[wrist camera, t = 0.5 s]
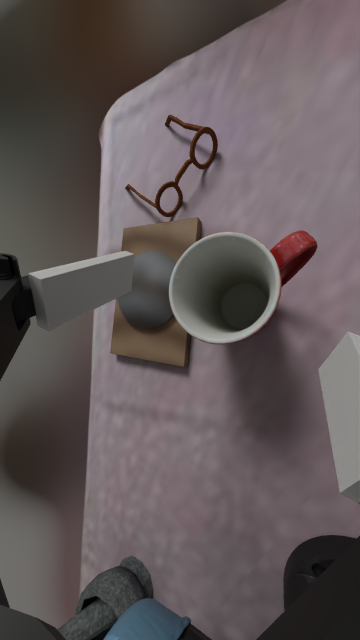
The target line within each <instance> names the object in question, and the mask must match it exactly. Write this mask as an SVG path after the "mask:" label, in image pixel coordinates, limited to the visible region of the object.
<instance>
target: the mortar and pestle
mask: <svg viewBox="0 0 360 640" xmlns="http://www.w3.org/2000/svg"><path fill="white" fill-rule="evenodd" d="M152 592H153V587H152V582H151V577H150V574H149V572H148V571H147V569H146V568H145V566H144V564H143V563H142V562H141V561H140V560H138V559H136V558H134V557H133V556H130V557H128V558H125V559H123V561H122V562H121V564H120V566H117V567H115V568H112V569H110V570H107V571H105V572H103V573H100V574H98V575H97V576H96V577H95V578H94V579H93V580H92V581H91V582H90V583H89V584H88V586H87V587H86V588H85V589H84V591H83V592H82V593H81V596H80V599H79V603H78V606H77V609H76V613H75V616H74V617H73V618H71V619H70V620H69V621H68V622H66V623H65V624H64V625H62V626H61V627H60V628H59V629H57V630H58V631H59V632H60V633H61V634H62V635H63V637H64V638H65V639H66V640H103V639H104V638H105V636H106V635H107V633H108V632H109V631H110V629H111V628H112V627H113V625H114V624H115V623H116V622H117V620H118V619H119V618H120V617H121V615H122V614H123V613H124V612H125V611H126V610H127V609H128V608H130V607H131V606H132V605H133V604H134V603H136V602H138V601H140V600H142V599H146V598H150V599H151V595H152Z"/></svg>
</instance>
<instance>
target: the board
mask: <svg viewBox="0 0 360 640" xmlns="http://www.w3.org/2000/svg"><path fill="white" fill-rule="evenodd" d="M200 232H201V221H200V219H199V218H198V217H196V218H190V219H183V220H177V221H170V222H163V223H157V224H150V225H144V226H137V227H130V228H124V231H123V240H122V250H121V252H122V251H127V252H130V253H133V254H134V266H133V277H132V289H131V291H130V292H128V293H126V294H124V295H122V296H120V297H118V298H116V305H115V314H114V323H113V333H112V342H111V351H110V353H112V354H117V355H122V356H128V357H133V358H139V359H144V360H150V361H155V362H161V363H166V364H172V365H177V366H182V367H185V366H188V359H189V349H190V338H191V335H190V334H189V333H188V332H186V331H185V330H184V329H183V328H182V327H181V325H180V324H179V323H178V321H177V320H176V318H175V316H174V314H173V312H172V309H171V305H170V300H169V283H170V278H171V275H172V272H173V269H174V267H175V265H176V263H177V262H178V260H179V259H180V257H181V256H182V255H183V253H184V252H185V251H186V250H187V249H188V248H189V247H190V246H192V245H193V244H194V243H195V242H197V241H199V240H200Z"/></svg>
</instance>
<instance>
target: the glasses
mask: <svg viewBox="0 0 360 640" xmlns="http://www.w3.org/2000/svg"><path fill="white" fill-rule="evenodd" d="M171 121H173V122H176V123H177V124H179V125H180V126H182V127H183V128H185V129H189V130H194V131H198V132H197V133H196V134H195V136H194V138H193V140H192V143H191V147H190V159H189V160H187V161H186V162H185V163H184V165H183V166H182V168H181V169H180V171H179V172H178V174H177V176H176V178H175V182H173V181H171V182H167V183H165V184H164V185H163V186H162V187H161V188H160V189H159V191H158V193H157V195H156V199H155V204H154V203H153V202H151V201H150V200H148V199H147V198H145V197H144V196H142V195H141V194H139V193H138V192H137V191H136V190H135V189H134V188H133V187H131V186H130V185H129V184H128V185H127V186H126V188H125V189H127V190H129V189H131V190H132V191H133V192H135V193H136V194H137V195H138V196H139V197H140V198H142V199H143V200H145V201H146V202H148V203H149V204H151V205H152V206H154V207H155V208H156V209H157V210H158V212H159V213H160V214H162V215H163V216H165V217H171V216H173V215H174V214H175V213H176V212H177V210H178V209H179V207H180V206H181V204H182V200H183V195H182V192H181V190H180V188H179V186H178V182H179V180H180V178H181V177H182V175H183V174H184V172H185V171H186V169H187V168H188V166H189V165H190V164H191V163H193V164H194V165H195V166H196V167H197V168H199V169H205V168H207V167H208V166H209V165H210V163H211V162H212V160H213V159H214V158H215V155H216V152H217V146H218V143H217V137H216V134H215V132H214V131H213V130H212V129H211V128H209V127H202V126H197V125H193V124H188V123H184V122H182V121H181V120H179V119H178V118H176V117H174V116H172V115H169V116H168V118H167V120H166V123H165V125H166V126H167V127H168V126H169V124H170V122H171ZM204 133H206V134H210V136H211V138H212V141H213V151H212V154H211V156H210V158H209V159H208V161H207V162H206V163H204V164H199V163H198V162H197V160H196V158H195V146H196V143H197V141H198V139H199V138H200V136H201V135H202V134H204ZM169 187H174V188H175V189H176V191H177V193H178V196H179V199H178V203H177V205H176V207H175V208H174V210H172V211H171V212H169V213H166V212H164V211H163V210H162V209H161V207H160V197H161V195H162V193H163V192H164V190H166V189H167V188H169Z"/></svg>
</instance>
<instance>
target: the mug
mask: <svg viewBox="0 0 360 640" xmlns="http://www.w3.org/2000/svg"><path fill="white" fill-rule="evenodd" d="M316 249H317V242H316V241H315V239H314V238H313V237H312V236H310V235H309V234H308V233H307V232H305V231H302V230H300V231H296V232H294V233H292V234H290V235H288V236H287V237H285V238H284V239H282V240H281V241H280V242H279V243H277V244H276V245H275V246H274V247H273V248H272V249H271V250H270V251H269V250H268V249H267V248H266V247H265V246H264V245H263V244H262V243H261V242H259V241H258V240H256V239H254V238H252V237H250V236H248V235H245V234H242V233H237V232H221V233H215V234H212V235H209V236H206V237H204V238H202V239H200V240H199V241H197V242H195V243H194V244H193V245H192V246H190V247H189V248H188V249H187V250H186V251H185V252H184V253H183V255H182V256H181V257H180V259H179V260H178V262H177V263H176V265H175V267H174V269H173V272H172V275H171V278H170V283H169V300H170V305H171V309H172V312H173V314H174V316H175V318H176V320H177V321H178V323H179V324H180V325H181V327H182V328H183V329H184V330H185V331H186V332H188V333H189V334H190V335H192V336H193V337H195V338H197V339H199V340H201V341H203V342H207V343H211V344H231V343H235V342H239V341H241V340H244V339H246V338H248V337H250V336H252V335H253V334H255V333H256V332H258V331H259V330H261V329H262V328H264V327H265V326H266V325H267V324H268V322H269V321H270V319H271V318H272V315H273V314H274V312H275V310H276V307H277V305H278V302H279V299H280V295H281V287H282V286H283V285H284V284H286V283H287V282H288V281H289V280H290V279H291V278H292V277H293V276H294V275H295V274H296V273H297V272H298V271H299V270H300V269H301V268H302V267H303V266H304V265H305V264H306V263H307V262H308V261H309V260H310V259H311V257H312V256H313V255H314V253H315V251H316Z"/></svg>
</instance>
